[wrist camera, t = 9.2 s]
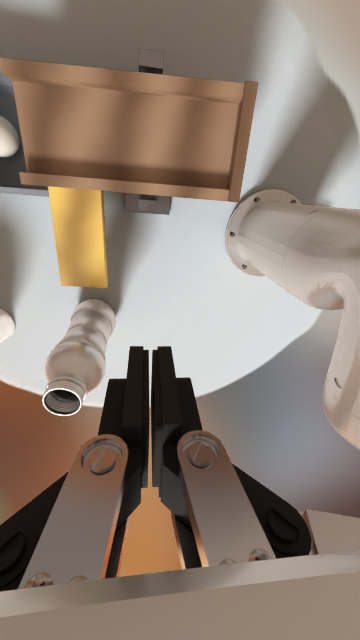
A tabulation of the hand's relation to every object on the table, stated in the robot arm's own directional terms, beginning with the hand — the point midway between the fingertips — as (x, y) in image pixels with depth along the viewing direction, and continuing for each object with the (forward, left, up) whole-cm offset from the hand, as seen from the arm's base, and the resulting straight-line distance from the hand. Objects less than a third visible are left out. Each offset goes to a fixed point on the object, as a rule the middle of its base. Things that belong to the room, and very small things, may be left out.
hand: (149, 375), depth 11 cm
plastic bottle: (+8, +12, -31) cm, 34 cm away
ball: (+17, -11, -28) cm, 35 cm away
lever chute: (+1, -6, -26) cm, 26 cm away
